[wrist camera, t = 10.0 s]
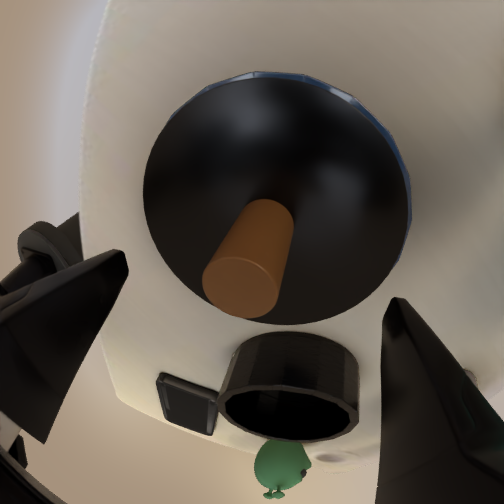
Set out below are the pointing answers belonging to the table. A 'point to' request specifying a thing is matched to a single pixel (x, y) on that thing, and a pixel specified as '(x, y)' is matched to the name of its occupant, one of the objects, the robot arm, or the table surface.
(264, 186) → the lid
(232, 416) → the tin
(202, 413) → the phone
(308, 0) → the table surface
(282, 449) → the alien toy
